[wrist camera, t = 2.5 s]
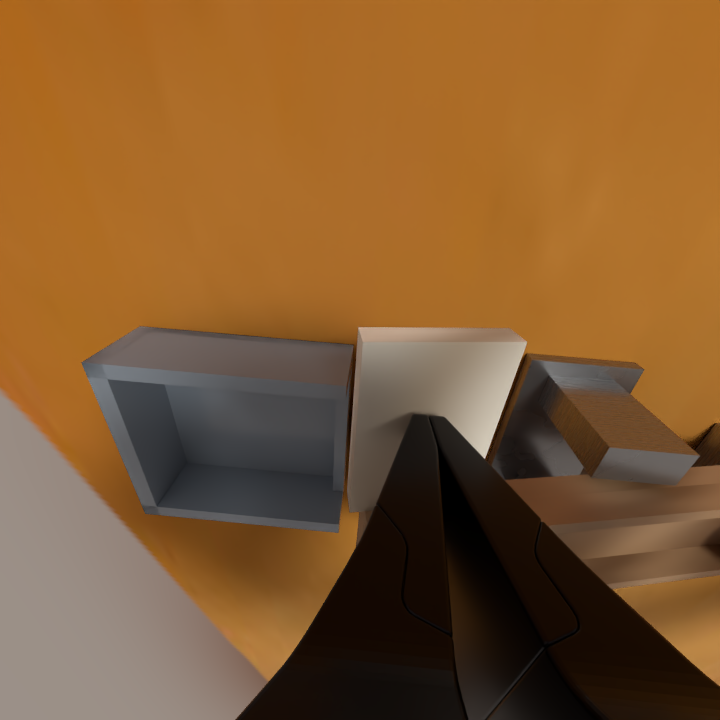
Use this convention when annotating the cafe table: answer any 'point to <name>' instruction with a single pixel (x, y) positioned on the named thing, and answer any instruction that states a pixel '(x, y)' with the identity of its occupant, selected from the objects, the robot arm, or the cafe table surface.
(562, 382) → the stand
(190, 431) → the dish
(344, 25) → the cafe table surface
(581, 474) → the lever
